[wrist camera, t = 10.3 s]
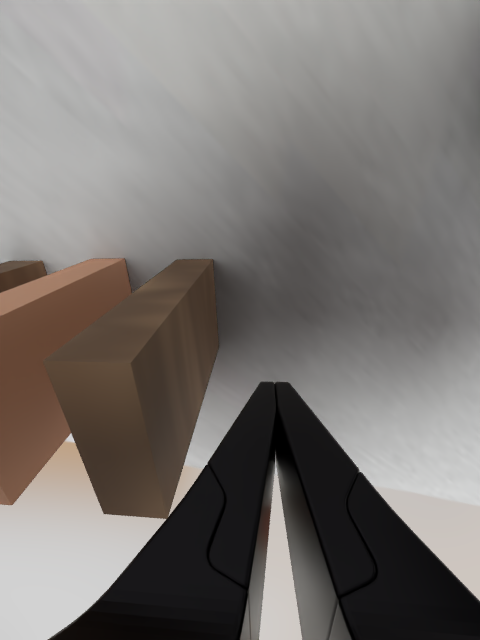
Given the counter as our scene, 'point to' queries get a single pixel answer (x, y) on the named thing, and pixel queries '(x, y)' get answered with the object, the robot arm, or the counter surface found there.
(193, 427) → the domino
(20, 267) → the domino
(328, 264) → the counter surface
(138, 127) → the counter surface
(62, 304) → the domino
